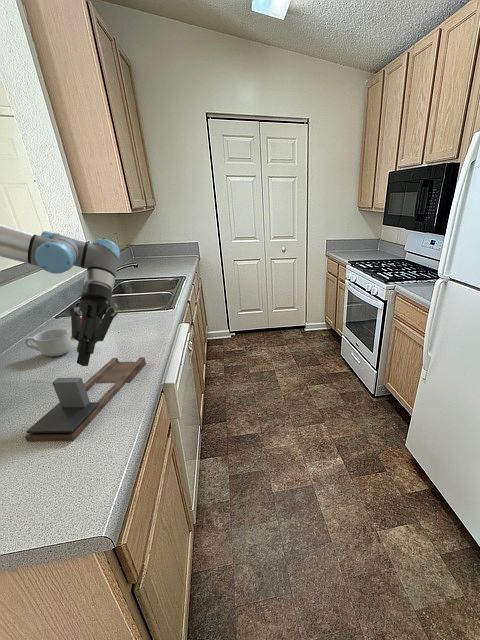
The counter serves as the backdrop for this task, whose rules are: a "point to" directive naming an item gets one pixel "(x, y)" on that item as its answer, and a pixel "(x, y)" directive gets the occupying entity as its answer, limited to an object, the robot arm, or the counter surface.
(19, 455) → the counter surface
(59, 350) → the teacup
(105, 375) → the long wooden tray frame
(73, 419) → the lid
